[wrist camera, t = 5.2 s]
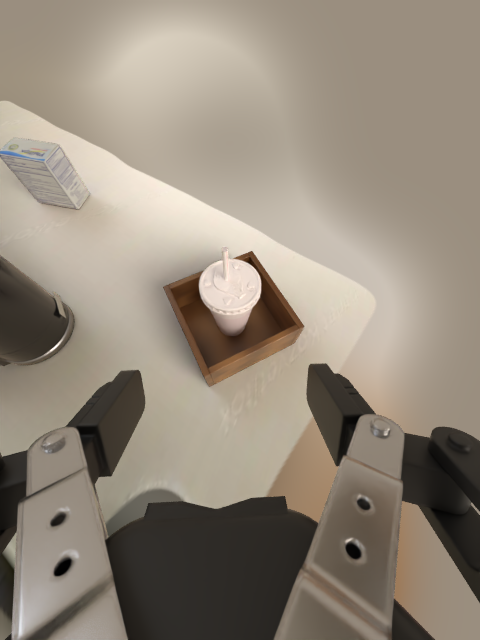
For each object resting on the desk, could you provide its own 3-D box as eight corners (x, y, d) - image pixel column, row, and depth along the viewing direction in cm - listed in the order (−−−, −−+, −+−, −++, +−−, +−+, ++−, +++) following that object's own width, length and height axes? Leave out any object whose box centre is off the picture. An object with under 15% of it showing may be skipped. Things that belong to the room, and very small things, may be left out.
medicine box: (91, 194, 45) (60, 142, 37) (79, 211, 43) (43, 160, 35) (52, 187, 45) (13, 135, 37) (38, 203, 43) (-6, 152, 36)
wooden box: (209, 386, 30) (204, 377, 25) (173, 307, 34) (162, 286, 30) (294, 343, 32) (304, 326, 28) (250, 274, 37) (252, 250, 32)
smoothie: (236, 295, 35) (235, 215, 22) (265, 327, 33) (282, 259, 20) (199, 319, 33) (175, 247, 21) (227, 355, 31) (220, 299, 19)
